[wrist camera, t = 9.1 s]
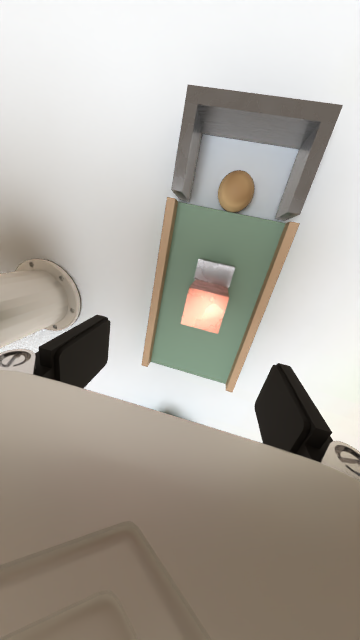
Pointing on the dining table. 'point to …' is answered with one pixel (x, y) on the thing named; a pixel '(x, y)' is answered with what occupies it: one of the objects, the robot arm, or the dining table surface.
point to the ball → (236, 191)
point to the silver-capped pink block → (208, 295)
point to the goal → (256, 135)
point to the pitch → (244, 291)
